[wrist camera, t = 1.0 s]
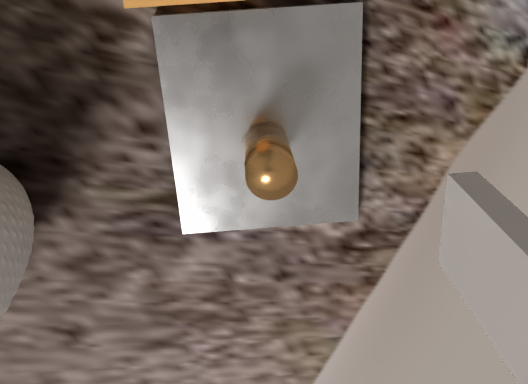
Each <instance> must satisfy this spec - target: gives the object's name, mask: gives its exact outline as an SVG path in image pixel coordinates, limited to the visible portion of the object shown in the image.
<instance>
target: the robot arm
mask: <svg viewBox="0 0 528 384" xmlns="http://www.w3.org/2000/svg"><path fill="white" fill-rule="evenodd" d="M438 263H439V264H440V266H441V268H442V269H443V271H444V272H445V273H446V275H447V277H448V278H449V279H450V281H451V283H452V284H453V286H454V287H455V289H456V290H457V292H458V293H459V295H460V296H461V298H462V299H463V301H464V302H465V304H466V305H467V307H468V308H469V310H470V311H471V313H472V314H473V316H474V317H475V319H476V320H477V322H478V323H479V325H480V326H481V328H482V329H483V331H484V332H485V334H486V335H487V337H488V338H489V340H490V341H491V343H492V344H493V346H494V347H495V349H496V351H497V352H498V354H499V355H500V356H501V358H502V360H503V361H504V363H505V364H506V366H507V367H508V369H509V370H510V372H511V373H512V375H513V376H514V378H515V379H516V381H517V382H518V384H528V217H527V216H526V215H525V214H524V213H523V212H521V211H520V210H519V209H518V208H517V207H516V206H515V205H513V203H511V202H510V201H509V200H508V199H507V198H506V197H505V196H503V195H502V194H501V193H500V192H499V191H498V190H497V189H496V188H495V187H494V186H492V185H491V184H490V183H489V182H488V181H487V180H486V179H484V178H483V177H482V176H481V175H480V174H479V173H478V172H465V173H453V174H448V177H447V187H446V195H445V205H444V213H443V222H442V232H441V241H440V251H439V259H438Z"/></svg>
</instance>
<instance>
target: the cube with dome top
mask: <svg viewBox="0 0 528 384" xmlns="http://www.w3.org/2000/svg"><path fill="white" fill-rule="evenodd" d="M228 1H243V0H123V4H124V8H137V7H152V6H167V5H183V4H198V3H213V2H228Z"/></svg>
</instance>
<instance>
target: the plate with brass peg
mask: <svg viewBox="0 0 528 384" xmlns="http://www.w3.org/2000/svg"><path fill="white" fill-rule="evenodd" d="M151 18H152V25H153V32H154V39H155V45H156V52H157V59H158V66H159V73H160V80H161V87H162V94H163V101H164V108H165V115H166V122H167V129H168V136H169V143H170V150H171V157H172V164H173V170H174V177H175V184H176V191H177V198H178V205H179V212H180V219H181V226H182V233H183V234H191V233H204V232H216V231H229V230H242V229H255V228H268V227H281V226H294V225H307V224H319V223H332V222H345V221H358V205H359V159H360V114H361V68H362V22H363V2H360V1H350V2H335V3H320V4H305V5H290V6H274V7H259V8H244V9H229V10H214V11H199V12H184V13H169V14H154V15H153V16H151Z"/></svg>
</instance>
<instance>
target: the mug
mask: <svg viewBox="0 0 528 384" xmlns="http://www.w3.org/2000/svg"><path fill="white" fill-rule="evenodd" d="M34 229H35V227H34V215H33V212H32V208H31V203H30V201H29V198H28V196H27V194H26V191H25V189H24V188H23V186H22V185H21V183H20V182H19V181H18V180H17V178H16V177H15V176H14V175H13V174H12V173H11V172H10V171H8V170H7V169H6V168H4V167H3V166H2V165H0V321H1V319H2V316H3V314H4V313H5V311H6V310H7V309H8V307H9V306H10V303H11V300H12V298H13V296H14V295H15V294H16V293H17V291H18V288H19V284H20V282H21V280H22V279H23V277H24V275H25V269H26V267H27V265H28V263H29V256H30V254H31V252H32V243H33V240H34V236H33V232H34Z"/></svg>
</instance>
